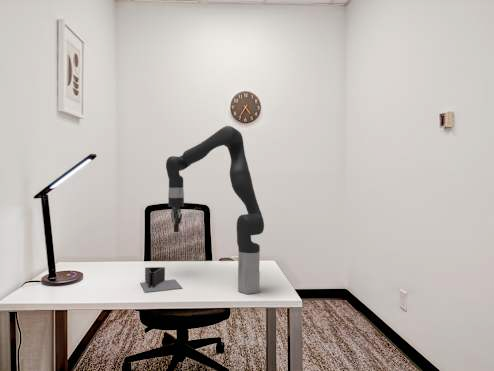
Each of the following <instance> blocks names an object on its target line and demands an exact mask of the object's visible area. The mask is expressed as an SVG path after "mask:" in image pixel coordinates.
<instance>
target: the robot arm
mask: <svg viewBox="0 0 494 371" xmlns="http://www.w3.org/2000/svg"><path fill="white" fill-rule="evenodd" d="M222 146H224V147H226V148H227V150H228V152H229V156H230V169H229V177H230V182H231V183H230V185H231V187H232V190H233V191H234V193H235V194H236V195H237V197H238V198H239V199H240V200H241V202H242V203H243V204H244V205H245V209H246V212H247V213H245V214H241V215H239V216H238V218H237V220H236V242H237V244H236V245H237V247H238V258H237V262H238V263H237V264H238V265H237V267H238V268H237V292H240V293H243V294H245V295H250V294H258V293H260V276H261V272H260V260H261V259H260V258H261V257H260V256H261V254H260V252H261V249H260V248H261V247H260V246H261V245H260V244H258V243H257V242H254V241H252V236H258V235H261V234H263V232H264V229H265V223H264V218H263V215H262V214H263V213H262V212H261V209H260V206H259V203H258V201H257V196H256V193H255V190H254V185H253V180H252V177H251V173H250V169H249V165H248V161H247V157H246V153H245V144H244V138H243V135H242V133H241V132H240V131H239V130H238V129H236V128H235V127H233V126H231V125H226V126H224V127H222V128H220V129H219V130H217V131H216V132H215V133H214V134H212V135H210V136H209V137H207V138H205V139H204V140H203V141H202V142H200V143H198V144H197V145H195V146H193V147H190V148H189V149H187V150H185V151H184V152H183V153H182V154H181V155H180V156H176V155H174V156H173V155H171V156H169V157H168V158H167V159H166V162H165V170H166V174H167V178H168V193H167V194H168V195H167V196H168V197H167V198H168V202H167V203H168V204H167V206H168V207H170V208H171V212H170V218H171V223H172V224H173V232H174V233H179V232H180V230H179V229H180V227H179V226H180V224H181V223H182V218H183V213H182V210H181V207H182V208H183V207H184V204H185V192H184V177H183V176H182V175H181V174H180V171H184V170H185V169H187V168H188V167H190V166H191V165H192V164H194V163H197V162H200V161H201V160H203V159H204V158H206V157H207V156H208V155H209V153H210V152H211V151H213V150H214V149H217V148H219V147H222Z"/></svg>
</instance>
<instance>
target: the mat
mask: <svg viewBox="0 0 494 371" xmlns="http://www.w3.org/2000/svg"><path fill="white" fill-rule="evenodd" d="M140 286H141V288H142V290H143V292H144V293H145V294H146V293H156V292H166V291H172V290H173V291H174V290H180V289H181V290H183V286H182V285H180V284H179V282H178V281H177V279H165V280H164V281H162V282H161V283H159V284H157V285H156V286H155V287H154V288H152V286H151V288H149V287H148V284H147V282H146V281H145V282H144V281H143V282H140Z"/></svg>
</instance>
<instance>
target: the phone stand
mask: <svg viewBox="0 0 494 371" xmlns="http://www.w3.org/2000/svg"><path fill="white" fill-rule="evenodd" d="M165 268H166V267H165V266H164V267H163V266H159V267H158V266H157V267H155V266H154V267H151V266H150V267H144V272H145V273H144V276H145V277H144V281H145V282H147V284H148V287H149V288H151V286H152V288H154V287H155V286H156V285H157V284H159V283H161V282H162V281H164V280H166V279H165V278H166V273H165V272H166V269H165Z"/></svg>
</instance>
